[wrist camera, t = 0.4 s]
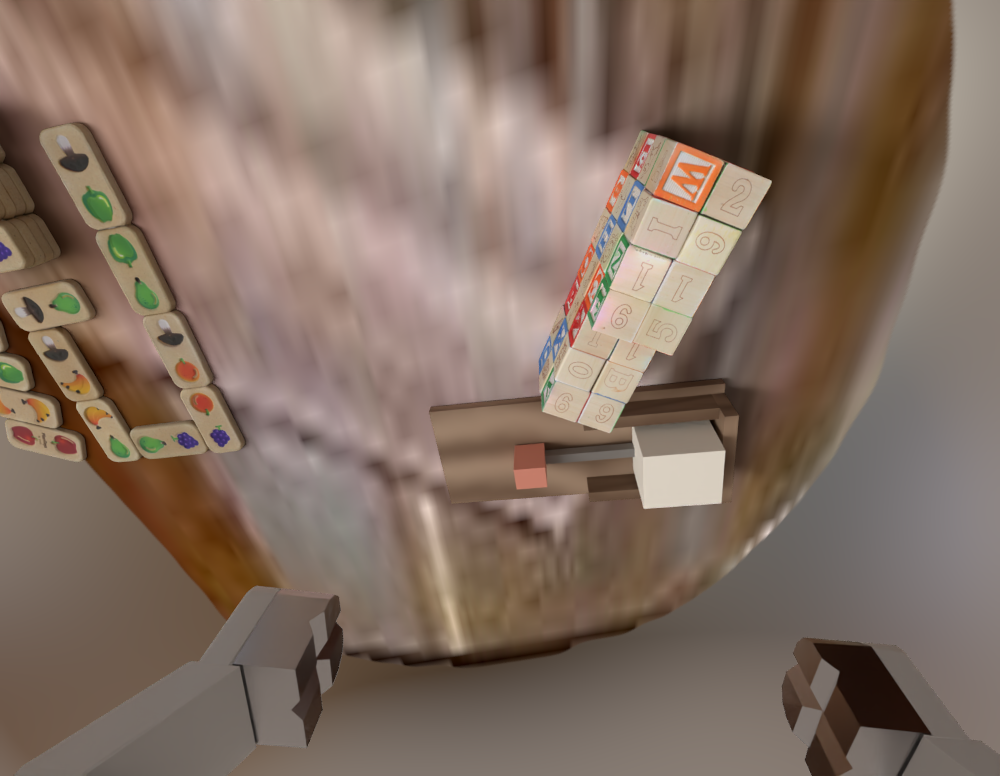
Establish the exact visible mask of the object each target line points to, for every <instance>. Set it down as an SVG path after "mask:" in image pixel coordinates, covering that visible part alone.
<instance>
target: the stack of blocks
mask: <svg viewBox="0 0 1000 776" xmlns="http://www.w3.org/2000/svg"><path fill="white" fill-rule="evenodd" d="M771 183H772V181H771V180H769V179H766V178H764V177H762V176H759V175H757V174H755V173H754V172H753V171H750V170H747V169H745V168H742V167H740V166H737V165H735V164H732V163H730V162H728V161H725V160H723V159H720V158H718V157H715V156H713V155H710V154H708V153H706V152H704V151H701V150H698V149H696V148H693V147H690V146H688V145H685V144H683V143H680V142H677V141H675V140H672V139H670V138H667V137H664V136H661V135H656V134H651V133H648V132H646V131H642V130H641V132H640V134H639V136H638V138H637V140H636V143H635V145H634V147H633V149H632V151H631V154H630V156H629V158H628V160H627V162H626V165H625V167H624V169H623V170H622V171H621V173H620V176H619V178H618V180H617V182H616V185H615V187H614V189H613V191H612V194H611V196H610V198H609V200H608V203H607V205H606V208H605V209H604V212H603V214H602V216H601V218H600V220H599V222H598V225H597V227H596V229H595V232H594V234H593V236H592V238H591V245H590V246H589V248H588V251H587V253H586V256H585V258H584V260H583V262H582V264H581V267H580V269H579V271H578V276H577V277H576V280H575V282H574V284H573V286H572V288H571V291H570V293H569V295H568V298H567V300H566V302H565V305H563V306H562V308H561V310H560V312H559V315H558V317H557V319H556V321H555V324H554V326H553V328H552V331H551V333H550V336H549V338H548V341H547V343H546V345H545V347H544V350H543V352H542V354H541V357H540V359H539V389H540V393H541V406H542V412H545V413H548V414H551V415H554V416H557V417H560V418H563V419H566V420H569V421H572V422H578V423H580V424H583V425H586V426H589V427H592V428H595V429H598V430H601V431H604V432H607V433H611V431H612V430H613V428H614V426H615V424H616V422H617V420H618V418H619V417H620V415H621V413H622V411H623V409H624V407H625V404H626V403H628V401H629V400H630V398H631V396H632V394H633V392H634V390H635V389H636V387H637V385H638V383H639V381H640V379H641V378H642V376H643V373H644V372H645V370H646V369H647V367H648V365H649V363H650V362H651V360H652V358H653V356H654V354H655V352H656V351H659V352H661V353H664V354H667V355H670V356H672V355H673V353H674V352H675V350H676V348H677V346H678V345H679V343H680V341H681V339H682V337H683V335H684V334H685V332H686V330H687V328H688V327H689V325H690V323H691V321H692V317H693V315H694V314H695V312H696V311H697V309H698V307H699V305H700V304H701V302H702V300H703V298H704V296H705V294H706V293H707V291H708V289H709V288H710V286H711V284H712V282H713V280H714V278H715V276H717V275H718V274H719V272H720V271H721V269H722V267H723V265H724V264H725V262H726V260H727V258H728V257H729V255H730V253H731V251H732V250H733V248H734V246H735V244H736V243H737V241H738V239H739V237H740V236H741V234H742V230H744V229H745V228H746V227H747V225H748V223H749V222H750V220H751V218H752V217H753V215H754V213H755V211H756V210H757V208H758V206H759V205H760V203H761V201H762V200H763V198H764V196H765V194H766V193H767V191H768V189H769V188H770V186H771Z"/></svg>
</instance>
